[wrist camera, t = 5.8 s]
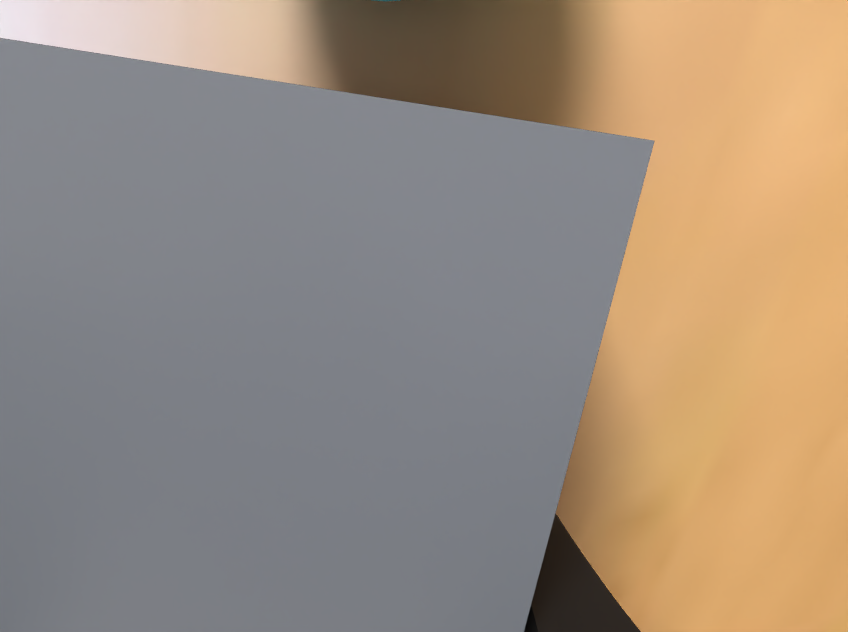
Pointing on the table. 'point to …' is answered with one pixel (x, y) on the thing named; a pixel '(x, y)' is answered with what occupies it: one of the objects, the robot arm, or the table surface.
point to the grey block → (287, 349)
